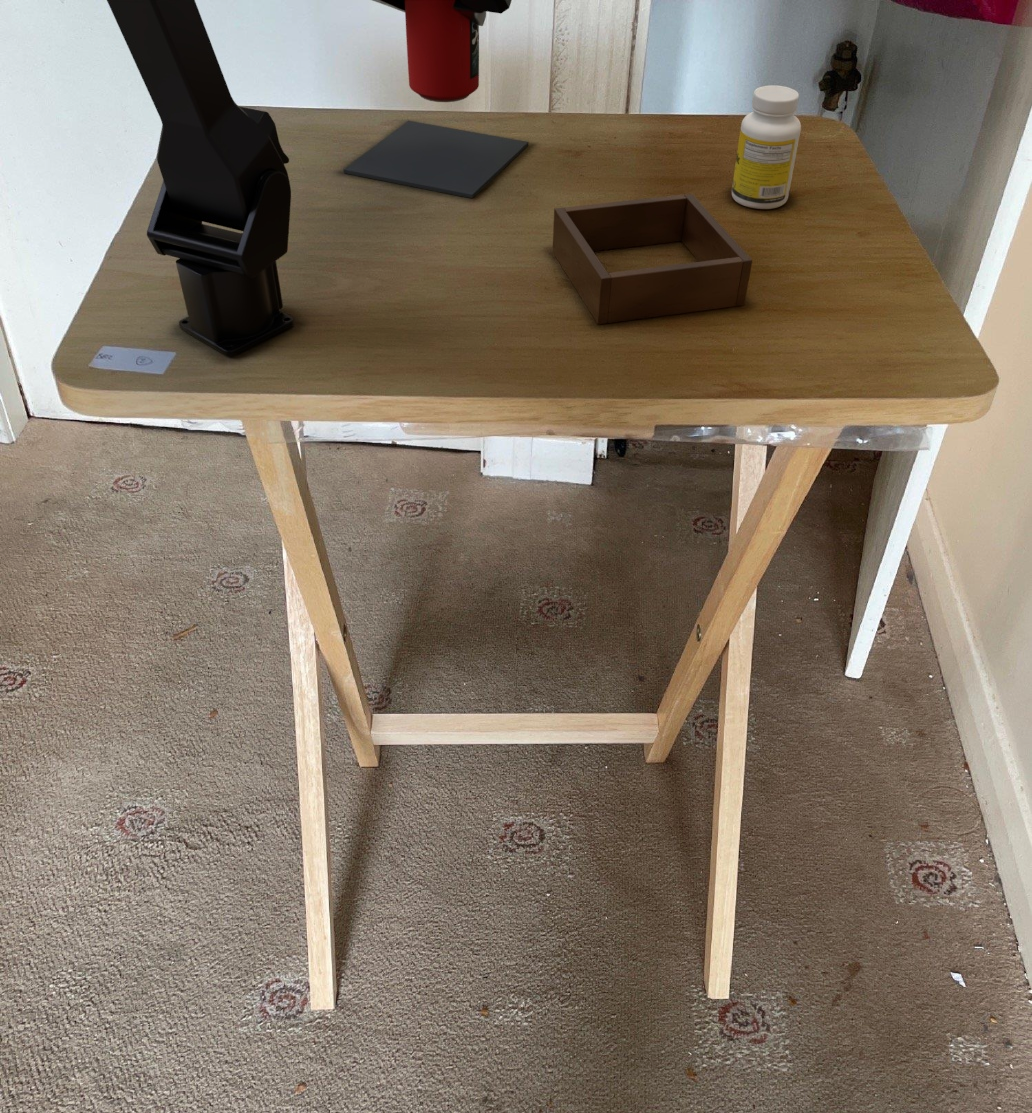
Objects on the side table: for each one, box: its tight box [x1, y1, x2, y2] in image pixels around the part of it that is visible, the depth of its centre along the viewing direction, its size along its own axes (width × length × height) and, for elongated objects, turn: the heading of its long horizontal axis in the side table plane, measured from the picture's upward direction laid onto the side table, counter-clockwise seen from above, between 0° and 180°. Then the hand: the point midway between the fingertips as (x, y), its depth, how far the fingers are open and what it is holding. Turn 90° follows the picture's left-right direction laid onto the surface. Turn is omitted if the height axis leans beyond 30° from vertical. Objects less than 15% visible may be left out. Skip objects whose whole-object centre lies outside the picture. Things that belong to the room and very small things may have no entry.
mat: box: [342, 120, 529, 199], centre depth 105 cm, size 14×14×1 cm
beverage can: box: [404, 0, 480, 103], centre depth 96 cm, size 7×7×12 cm
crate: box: [552, 193, 753, 325], centre depth 86 cm, size 13×13×4 cm
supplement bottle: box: [731, 84, 802, 210], centre depth 96 cm, size 5×5×10 cm
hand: (449, 15), depth 97 cm, fingers closed on beverage can, 7 cm apart
